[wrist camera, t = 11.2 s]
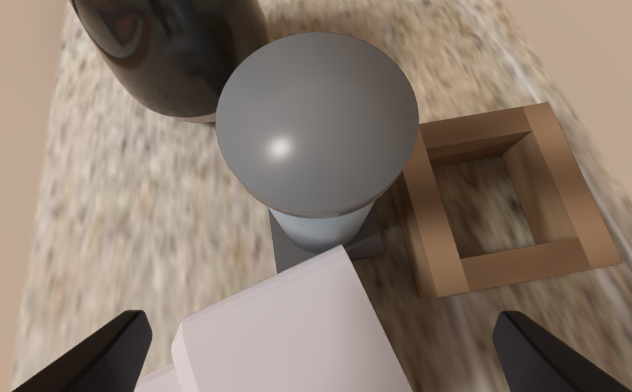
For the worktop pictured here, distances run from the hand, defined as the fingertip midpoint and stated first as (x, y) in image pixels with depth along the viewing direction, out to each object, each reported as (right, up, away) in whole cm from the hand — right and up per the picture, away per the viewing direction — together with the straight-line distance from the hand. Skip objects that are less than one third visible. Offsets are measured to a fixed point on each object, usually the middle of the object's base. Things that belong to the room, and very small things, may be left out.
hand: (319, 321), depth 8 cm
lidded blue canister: (0, +2, +13) cm, 13 cm away
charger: (-4, -7, +11) cm, 13 cm away
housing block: (+10, +2, +13) cm, 17 cm away
